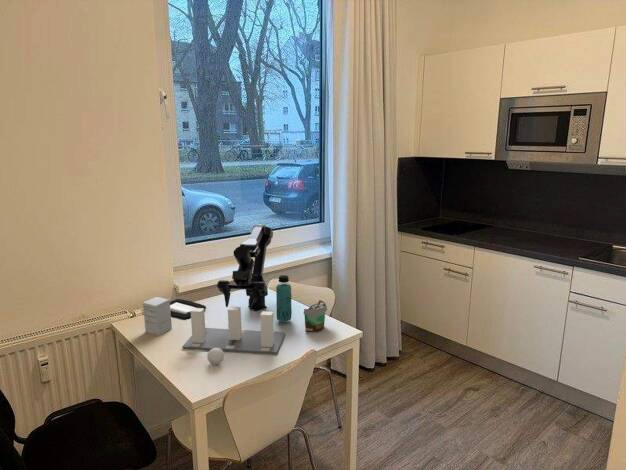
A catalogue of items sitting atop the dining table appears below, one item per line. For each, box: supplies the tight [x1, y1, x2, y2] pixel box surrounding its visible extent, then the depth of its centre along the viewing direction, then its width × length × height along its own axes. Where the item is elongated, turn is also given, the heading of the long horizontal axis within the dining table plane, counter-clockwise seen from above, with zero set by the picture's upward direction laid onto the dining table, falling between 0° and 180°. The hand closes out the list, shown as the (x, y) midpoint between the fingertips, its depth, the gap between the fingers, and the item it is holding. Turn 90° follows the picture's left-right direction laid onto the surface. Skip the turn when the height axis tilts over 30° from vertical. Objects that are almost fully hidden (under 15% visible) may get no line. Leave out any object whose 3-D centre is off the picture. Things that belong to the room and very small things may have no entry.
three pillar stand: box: [182, 308, 286, 356], centre depth 160 cm, size 16×35×13 cm, turn 83°
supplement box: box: [142, 296, 173, 336], centre depth 169 cm, size 7×7×13 cm
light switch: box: [170, 298, 207, 321], centre depth 190 cm, size 20×3×14 cm
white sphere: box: [201, 348, 225, 366], centre depth 145 cm, size 8×6×6 cm
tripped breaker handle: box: [227, 306, 243, 340], centre depth 160 cm, size 3×4×12 cm
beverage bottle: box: [275, 274, 293, 322], centre depth 176 cm, size 6×7×20 cm
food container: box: [303, 299, 328, 334], centre depth 171 cm, size 12×6×10 cm, turn 148°
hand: (238, 307), depth 164 cm, fingers open, 9 cm apart
